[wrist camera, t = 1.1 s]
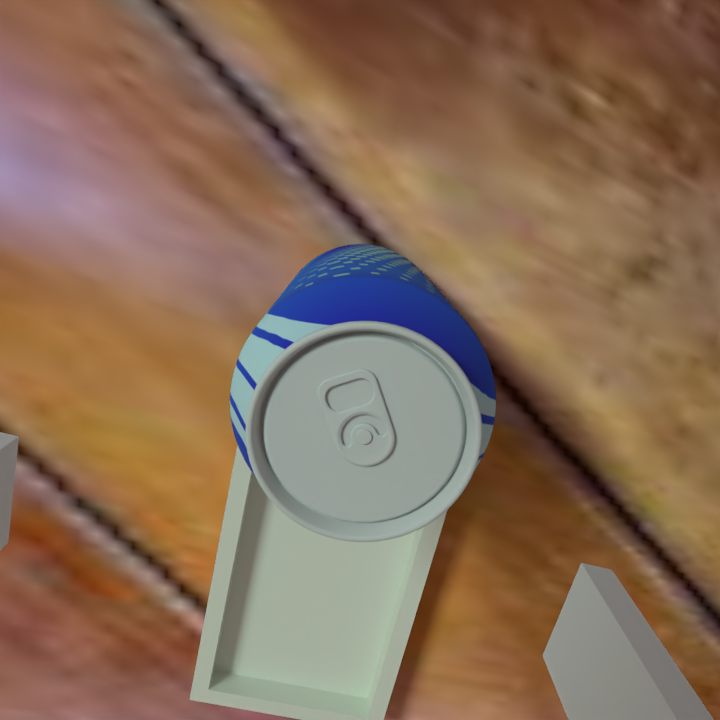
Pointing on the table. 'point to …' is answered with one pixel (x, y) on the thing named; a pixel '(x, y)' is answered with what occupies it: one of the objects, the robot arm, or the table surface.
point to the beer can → (362, 398)
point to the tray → (306, 613)
